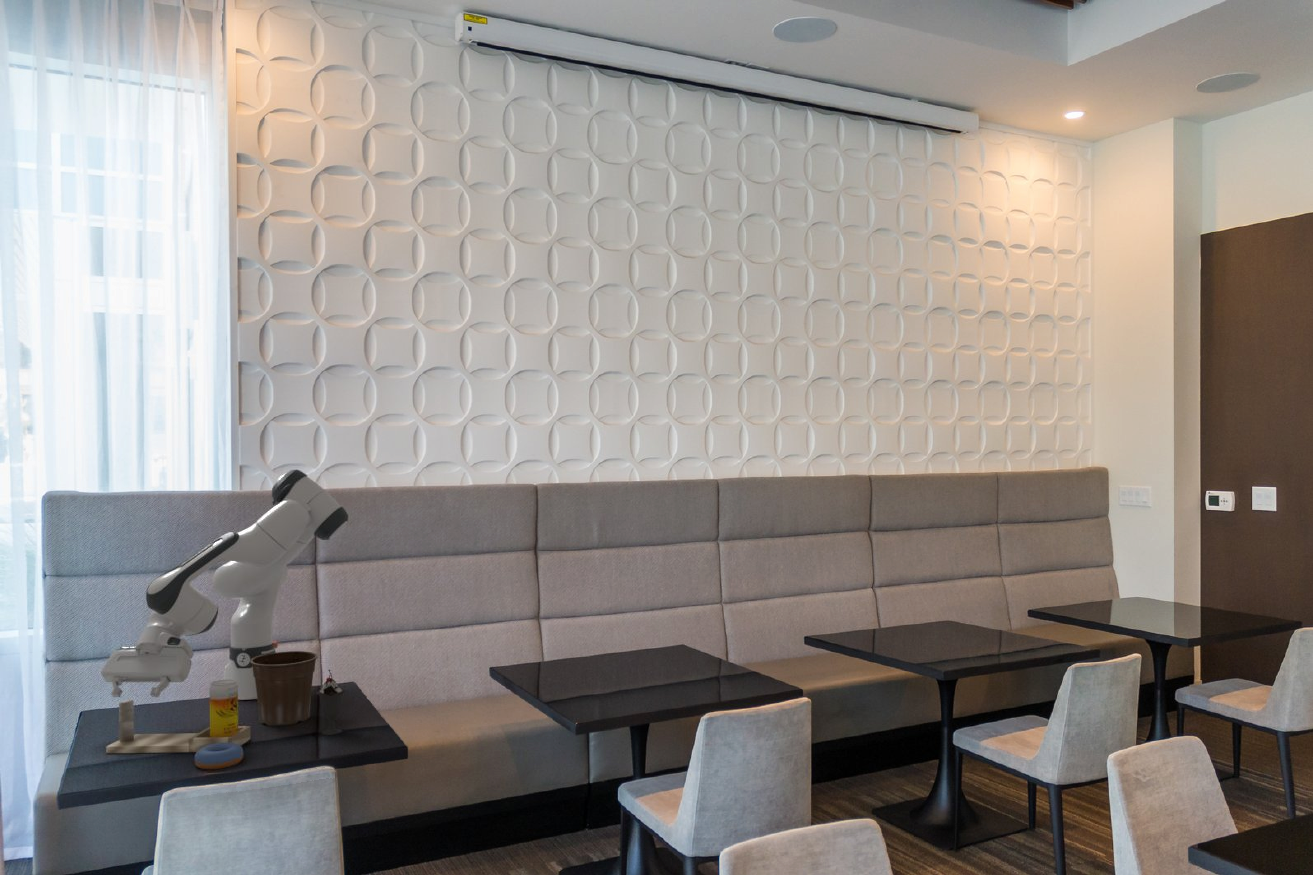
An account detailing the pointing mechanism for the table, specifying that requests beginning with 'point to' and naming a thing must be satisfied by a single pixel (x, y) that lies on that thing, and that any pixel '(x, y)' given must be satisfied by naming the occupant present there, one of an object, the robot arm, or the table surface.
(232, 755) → the doughnut
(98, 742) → the table surface
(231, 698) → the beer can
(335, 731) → the sundae
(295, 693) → the plant pot
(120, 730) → the wooden peg stand
